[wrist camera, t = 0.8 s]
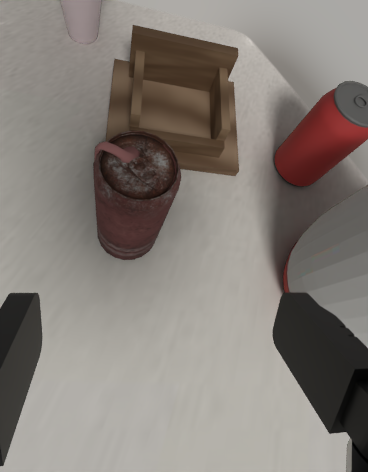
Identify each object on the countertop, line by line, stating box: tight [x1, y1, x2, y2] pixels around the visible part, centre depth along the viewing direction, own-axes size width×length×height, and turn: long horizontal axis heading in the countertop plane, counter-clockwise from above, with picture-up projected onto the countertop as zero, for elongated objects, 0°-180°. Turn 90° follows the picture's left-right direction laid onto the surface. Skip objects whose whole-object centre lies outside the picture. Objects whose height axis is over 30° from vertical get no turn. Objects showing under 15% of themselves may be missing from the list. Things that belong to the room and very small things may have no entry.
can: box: [94, 130, 181, 260], centre depth 28 cm, size 6×6×14 cm
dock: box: [106, 25, 239, 176], centre depth 37 cm, size 14×16×7 cm
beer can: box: [275, 81, 368, 186], centre depth 37 cm, size 7×7×12 cm
